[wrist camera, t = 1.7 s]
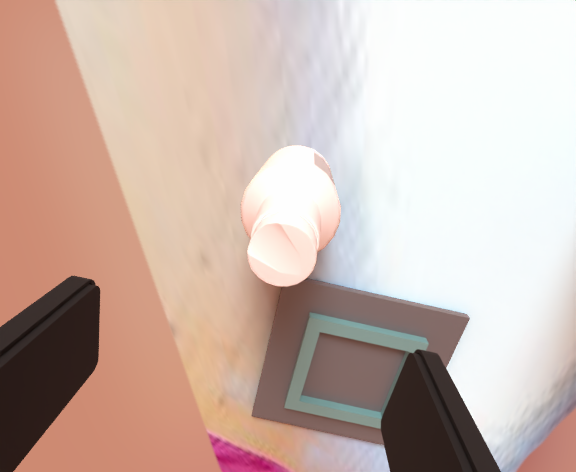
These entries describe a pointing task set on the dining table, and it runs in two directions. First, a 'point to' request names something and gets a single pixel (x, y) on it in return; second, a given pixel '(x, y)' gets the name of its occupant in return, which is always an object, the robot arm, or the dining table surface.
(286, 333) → the dock
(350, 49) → the dining table surface
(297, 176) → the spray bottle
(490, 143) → the dining table surface
